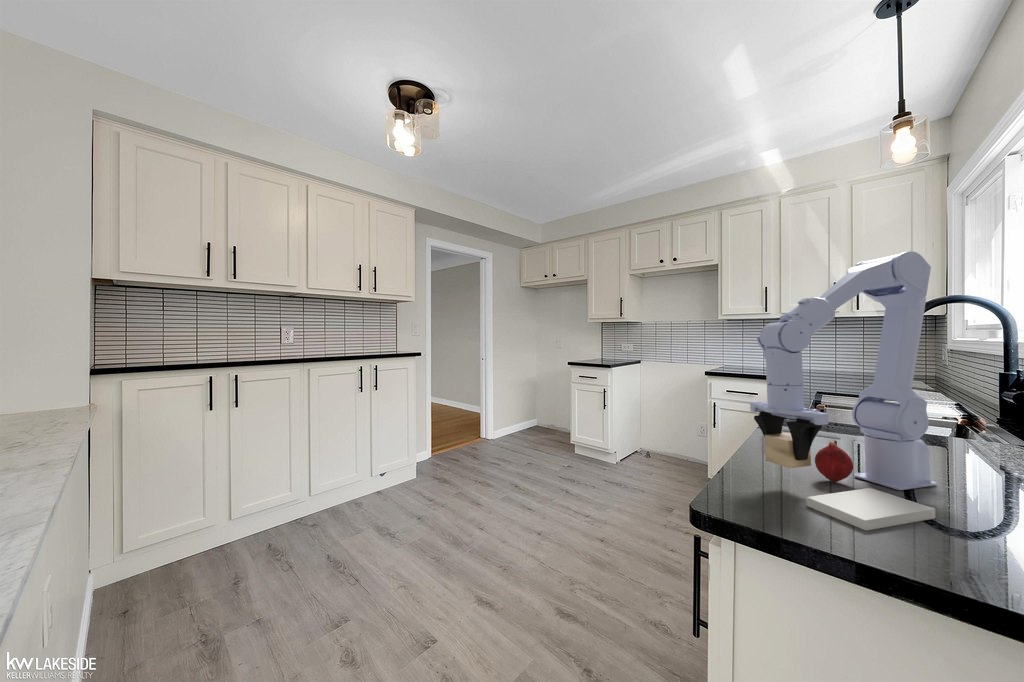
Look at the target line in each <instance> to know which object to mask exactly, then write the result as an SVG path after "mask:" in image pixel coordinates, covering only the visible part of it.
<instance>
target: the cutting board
mask: <svg viewBox="0 0 1024 682" xmlns="http://www.w3.org/2000/svg"><path fill="white" fill-rule="evenodd" d="M806 506H807V507H809V508H811V509H813V510H815V511H818V512H820V513H822V514H826V515H828V516H830V517H833V518H835V519H837V520H839V521H841V522H845V523H847V524H849V525H852V526H854V527H856V528H859V529H860V530H863V531H872V530H877V529H882V528H889V527H894V526H900V525H906V524H912V523H917V522H922V521H928V520H933V519H936V508H934V507H931V506H928V505H925V504H921V503H919V502H915V501H913V500H909V499H905V498H902V497H900V496H898V495H894V494H891V493H887V492H885V491H881V490H877V489H875V488H872V487H867V488H859V489H854V490H852V489H851V490H847V491H841V492H840V491H839V492H833V493H832V492H831V493H826V494H825V493H824V494H819V495H811V496H807V497H806Z"/></svg>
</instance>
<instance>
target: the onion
mask: <svg viewBox="0 0 1024 682" xmlns="http://www.w3.org/2000/svg"><path fill="white" fill-rule="evenodd" d="M814 464H815V467H816V469H817V470H818V472H819V473H820V474H821V475H822V476H824V477H825V478H826V479H828V481H830V482H832V483H837V482H841V481H842V480H845V479H846V478H848V477H849V476H850V475H851V474H852V473H853V470H854V464H853V460H852V459H851V457H850V456H849V454H848V453H847V452H846V451H845V450H844V449H842V448H841V447H839V446H838V445H837V444H836V442H835V441H832V440H830V441H829V443H828V445H827V446H825V447H823V448H821V449H819V450H818V451H817V453H816V454H815V456H814Z"/></svg>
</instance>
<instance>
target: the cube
mask: <svg viewBox="0 0 1024 682" xmlns="http://www.w3.org/2000/svg"><path fill="white" fill-rule="evenodd" d="M764 451H765V454H764V455H765V461H767V462H769V463H772V464H775V465H778V466H780V467H784V468H787V469H793V468H795V469H796V468H803V467H810V466H812V455H811V454H812V453H811V450H810V451H809V455H808V459H807V460H800V461H798V460H795V456H794V451H793V441H792V436H791V433H787V432H781V433H779V434H769V435H765V438H764Z"/></svg>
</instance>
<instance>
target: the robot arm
mask: <svg viewBox="0 0 1024 682" xmlns="http://www.w3.org/2000/svg"><path fill="white" fill-rule="evenodd" d="M931 270H932V266H931V265H930V264H929V263H928V261H927V260H926V259H925V258H924V257H923V256H922V255H921V254H920V253H919V252H917V251H912V250H911V251H910V250H909V251H905V252H901V253H898V254H894V255H893V254H892V255H889V256H885V257H880V258H876V259H871V260H862V261H859V262H857V263H856V264H855V265H853V266H852V267H850V268H848V269H847V270H846V274H845V275H844V276H842V277H841V278H840V279H838V281H837V282H835V283H834V284H833V285H832V286H831V287H829V288H828V290H826V291H825V292H824V293H823V294H821V296H819V297H816V296H815V297H814V296H812V297H806V298H805V297H804V298H801V299H800V300H799V301H797V304H798V305H797V306H795V307H794V308H793V309H792V310H790V311H788V313H783V314H782V315H780V316H779V319H778V321H777V322H769V323H768V324H766V325H764V326H763V327H762V329H761V330H760V332H759V336H757V337H756V340H757V344H758V346H759V347H760V348H761V350H762V352H763V358H764V359H765V374H766V375H765V376H766V394H767V395H766V398H767V402H764V401H763V402H762V401H751V402H749V403H750V405H749V407H750V412H751V413H752V412H753V413H758V415H754V416H753V420H754V421H755V422H756V424H757V425H758V427H759V429H760V431H761V432H762V435H763V437H764V439H765V435H769V434H779V433H783V432H782V429H783V426H784V421H785V419H786V418H787V419H791V420H794V421H786V425H787V427H788V430H789V432H790V433H789V434H791V436H792V441H793V451H794V456H795V460H798V461H800V460H807V459H808V455H809V451H811V447H812V445H813V442H814V440H815V438H816V436H817V434H818V433H819V431H820V430H821V429H822V428H823V425H829V413H826V412H821V411H819V410H814V409H810V408H807V407H805V398H804V397H805V396H804V395H805V394H804V392H805V391H804V375H803V374H804V373H803V372H804V371H803V353H802V351H803V350H805V349H807V348H808V346H809V344H811V343H810V342H811V338H812V337H813V336H814V334H816V333H817V332H819V330H821V329H822V328H824V327H825V326H826V325H827V324H829V323H830V322H832V321H833V320H834V319H835V315H836V311H835V310H836V309H837V310H838V308H840V307H842V306H843V305H845V304H846V303H848V302H849V301H851V300H852V299H853V298H855V297H856V296H858V295H860V294H861V293H862V294H863V295H865V296H867V297H868V298H870V299H871V300H873V301H874V302H876V303H879V304H881V305H882V306H883V308H885V309H884V317H883V323H882V328H881V334H880V340H879V345H878V350H877V351H878V353H877V358H876V365H875V369H874V376H873V382H872V384H871V385H869V386H868V387H865V388H863V389H862V390H861V391H860V392H859V395H858V399H857V401H856V403H854V405H853V407H852V410H851V416H852V421H853V422H854V424H855V425H856V426H857V427H859V430H860V433H862V434H863V438H864V439H863V440H864V441H863V443H864V444H863V445H864V446H863V447H864V463H865V465H864V466H865V468H864V469H865V472H860V473H854V474H853V477H855V478H858V479H860V478H861V479H860V480H864V481H867V482H871V483H874V484H877V485H880V486H883V487H887V488H889V489H890V488H891V489H893V490H898V491H904V490H905V491H906V490H911V489H918V488H925V487H926V488H927V487H932V486H937V482H936V481H933V480H931V462H930V460H931V458H930V456H931V455H930V450H929V447H928V445H927V444H926V443H925V441H924V440H923V439H921V437H923V436H924V435H925V434H926V432H927V431H928V429H929V425H930V420H929V417H928V413H927V405H928V402H927V401H926V399H925V398H923V397H922V396H921V395H919V394H918V393H917V392H915V391H914V390H913V389H912V388H913V383H914V376H915V371H916V365H917V358H918V351H919V348H920V347H919V346H920V339H921V333H922V327H923V322H924V315H925V309H926V303H927V302H926V301H927V294H928V289H929V282H930V275H931ZM887 401H888V402H887ZM890 401H892V402H890ZM896 402H897V403H896Z"/></svg>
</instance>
